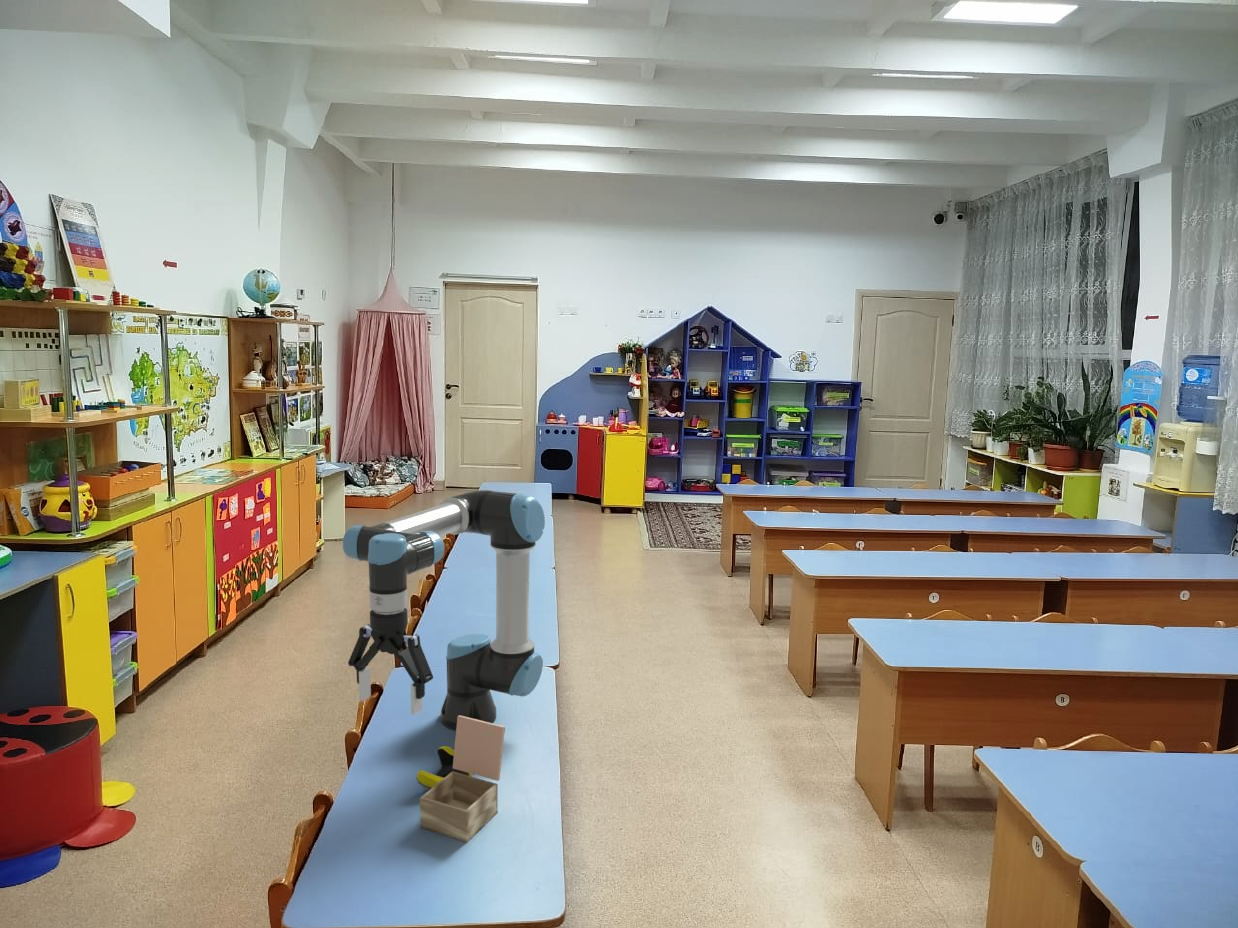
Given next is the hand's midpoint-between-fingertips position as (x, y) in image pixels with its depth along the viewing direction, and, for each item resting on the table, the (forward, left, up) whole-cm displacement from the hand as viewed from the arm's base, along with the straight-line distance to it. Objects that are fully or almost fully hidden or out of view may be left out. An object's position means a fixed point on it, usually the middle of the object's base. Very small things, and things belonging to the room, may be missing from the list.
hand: (390, 705), depth 175 cm
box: (-8, +12, -28) cm, 31 cm away
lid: (-15, +12, -14) cm, 24 cm away
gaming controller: (-20, 0, -28) cm, 35 cm away
